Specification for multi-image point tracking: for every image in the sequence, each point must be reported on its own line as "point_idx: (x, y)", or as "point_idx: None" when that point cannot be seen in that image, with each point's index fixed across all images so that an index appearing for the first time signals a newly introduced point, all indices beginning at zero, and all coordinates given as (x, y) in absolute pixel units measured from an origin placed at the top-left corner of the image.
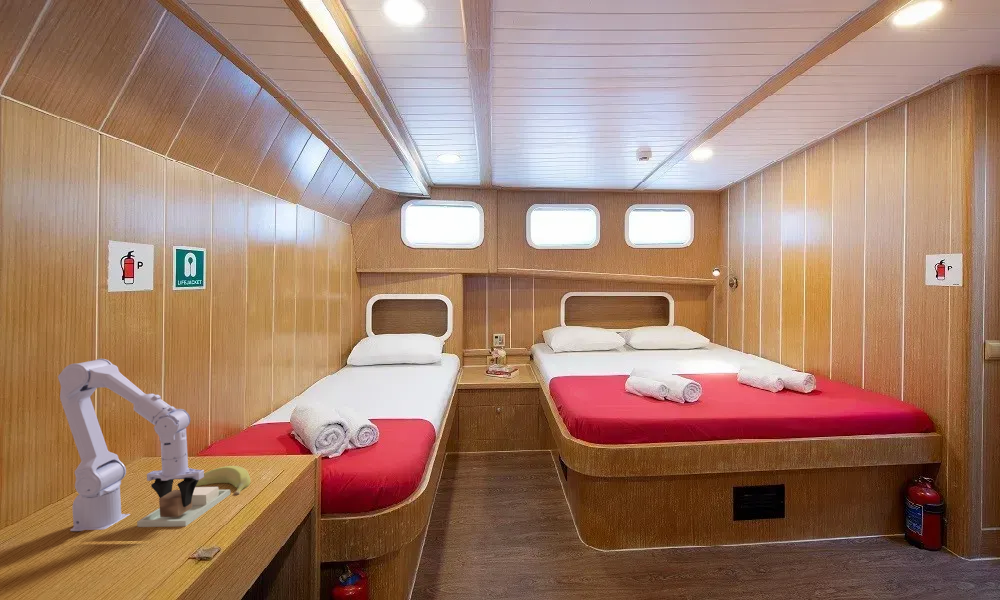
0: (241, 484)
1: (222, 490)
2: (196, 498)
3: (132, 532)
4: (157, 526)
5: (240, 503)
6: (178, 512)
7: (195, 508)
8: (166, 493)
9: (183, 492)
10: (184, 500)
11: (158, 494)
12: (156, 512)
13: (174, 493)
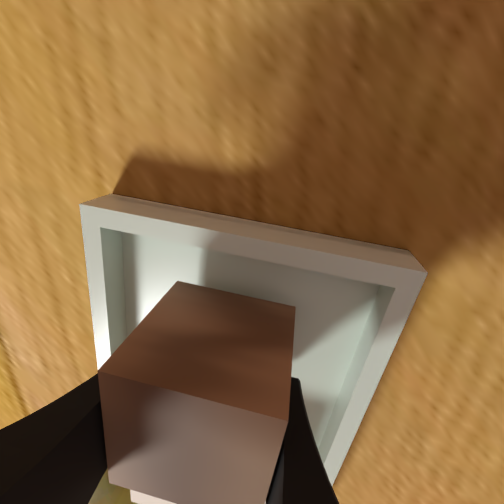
0: None
1: None
2: None
3: (423, 214)
4: (276, 230)
5: (40, 374)
6: (165, 296)
7: None
8: (273, 491)
9: (38, 427)
10: None
11: (325, 490)
12: (357, 372)
13: (201, 469)
